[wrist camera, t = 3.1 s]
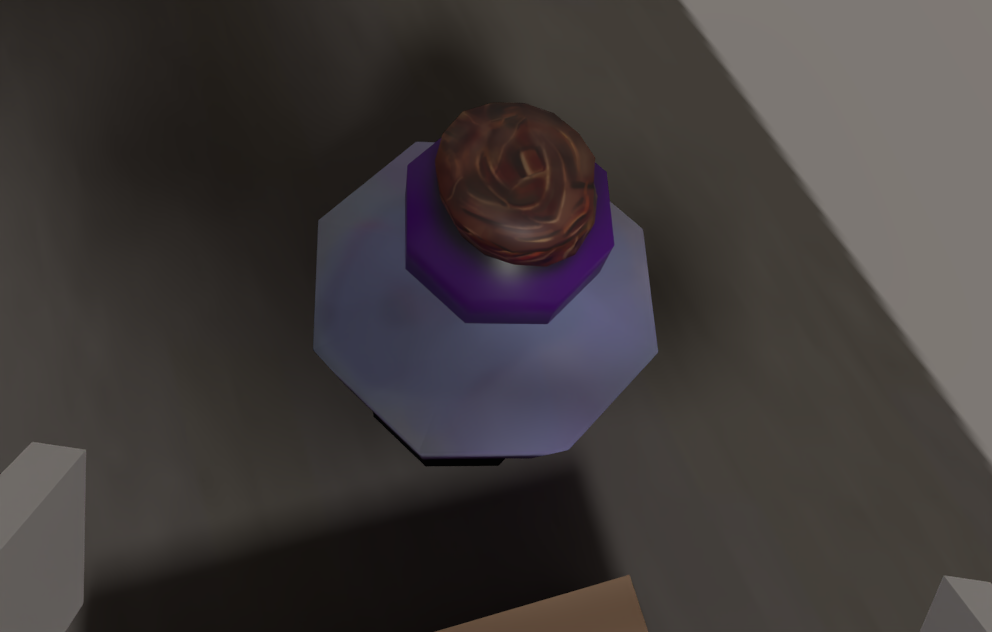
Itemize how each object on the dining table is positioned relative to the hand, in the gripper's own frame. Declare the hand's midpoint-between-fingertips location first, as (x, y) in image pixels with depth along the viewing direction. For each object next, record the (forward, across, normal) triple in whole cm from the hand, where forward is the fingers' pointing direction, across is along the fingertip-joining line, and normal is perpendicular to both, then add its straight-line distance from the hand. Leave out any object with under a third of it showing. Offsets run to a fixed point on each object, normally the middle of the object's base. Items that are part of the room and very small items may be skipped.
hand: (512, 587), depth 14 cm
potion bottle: (+14, -1, -3) cm, 14 cm away
